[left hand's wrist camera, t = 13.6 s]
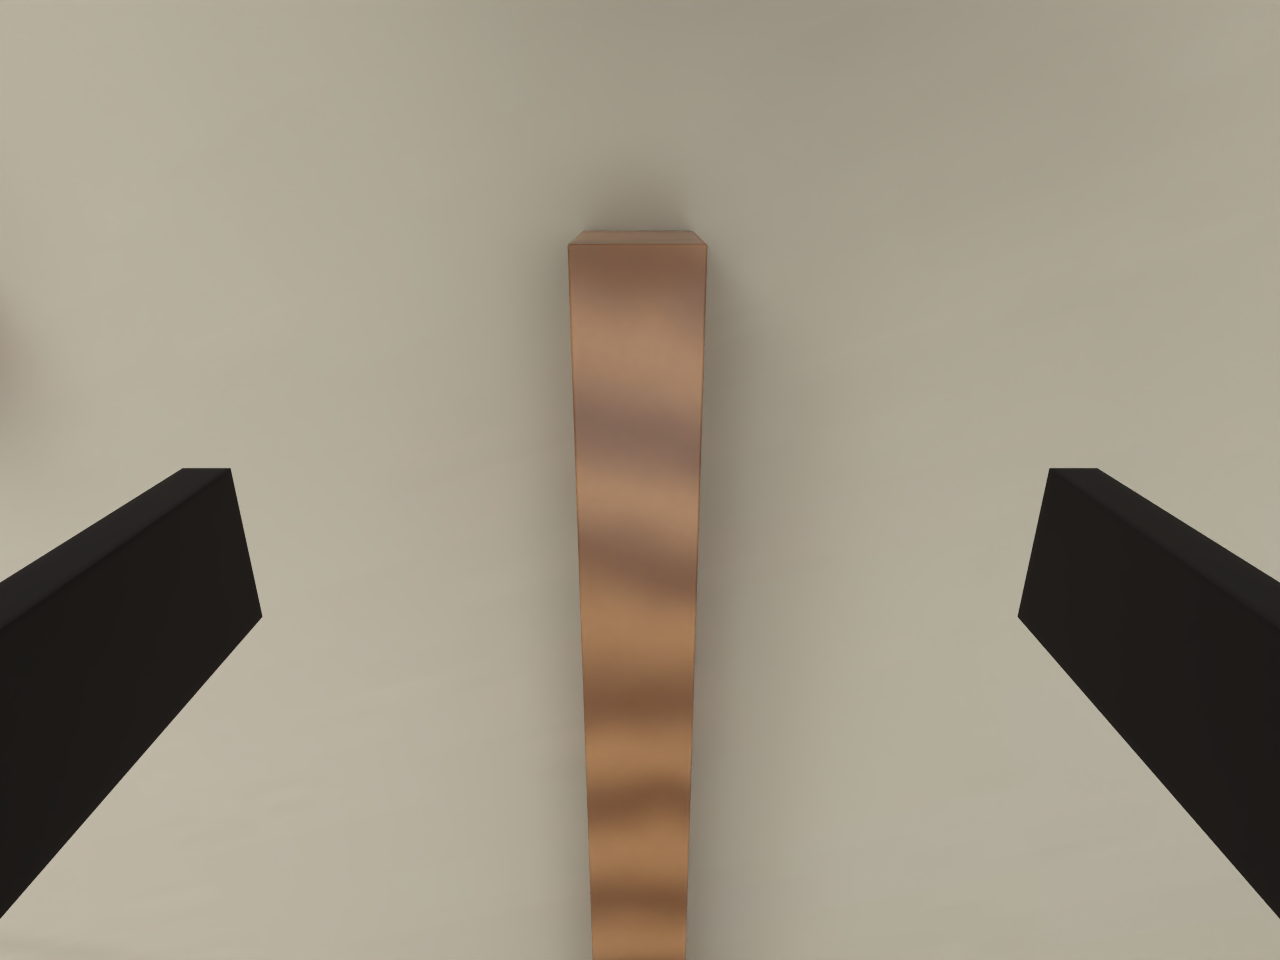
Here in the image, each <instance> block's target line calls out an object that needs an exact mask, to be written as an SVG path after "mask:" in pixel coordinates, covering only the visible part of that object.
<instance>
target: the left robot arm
mask: <svg viewBox="0 0 1280 960" xmlns="http://www.w3.org/2000/svg"><path fill="white" fill-rule="evenodd" d="M261 618H262V613H261V608H260V603H259V599H258V594H257V589H256V585H255V580H254V575H253V571H252V566H251V561H250V557H249V552H248V548H247V543H246V538H245V534H244V529H243V524H242V520H241V515H240V510H239V506H238V501H237V496H236V492H235V487H234V482H233V478H232V473H231V468H182V469H181V470H179V471H178V472H176V473H174V474H173V475H171V476H170V477H168V478H166V479H165V480H163V481H162V482H160V483H158V484H157V485H155V486H154V487H152V488H150V489H149V490H147V491H146V492H144V493H142V494H141V495H139V496H138V497H136V498H135V499H133V500H131V501H130V502H128V503H127V504H125V505H123V506H122V507H120V508H119V509H117V510H115V511H114V512H112V513H111V514H109V515H107V516H106V517H104V518H103V519H101V520H99V521H98V522H96V523H95V524H93V525H91V526H90V527H88V528H87V529H85V530H83V531H82V532H80V533H79V534H77V535H75V536H74V537H72V538H71V539H69V540H67V541H66V542H64V543H63V544H61V545H60V546H58V547H56V548H55V549H53V550H52V551H50V552H48V553H47V554H45V555H44V556H42V557H40V558H39V559H37V560H36V561H34V562H32V563H31V564H29V565H28V566H26V567H24V568H23V569H21V570H20V571H18V572H16V573H15V574H13V575H12V576H10V577H8V578H7V579H5V580H4V581H2V582H0V918H1V917H2V916H3V915H4V914H5V913H6V911H7V910H8V909H9V908H10V907H11V906H12V904H13V903H14V902H15V901H16V900H17V899H18V898H19V896H20V895H21V894H22V893H23V892H24V891H25V890H26V888H27V887H28V886H29V885H30V884H31V883H32V881H33V880H34V879H35V878H36V877H37V876H38V875H39V873H40V872H41V871H42V870H43V869H44V868H45V866H46V865H47V864H48V863H49V862H50V861H51V860H52V858H53V857H54V856H55V855H56V854H57V853H58V852H59V850H60V849H61V848H62V847H63V846H64V845H65V843H66V842H67V841H68V840H69V839H70V838H71V837H72V835H73V834H74V833H75V832H76V831H77V830H78V828H79V827H80V826H81V825H82V824H83V823H84V822H85V820H86V819H87V818H88V817H89V816H90V815H91V813H92V812H93V811H94V810H95V809H96V808H97V807H98V805H99V804H100V803H101V802H102V801H103V800H104V799H105V797H106V796H107V795H108V794H109V793H110V792H111V790H112V789H113V788H114V787H115V786H116V785H117V784H118V782H119V781H120V780H121V779H122V778H123V777H124V775H125V774H126V773H127V772H128V771H129V770H130V769H131V767H132V766H133V765H134V764H135V763H136V762H137V761H138V759H139V758H140V757H141V756H142V755H143V754H144V752H145V751H146V750H147V749H148V748H149V747H150V746H151V744H152V743H153V742H154V741H155V740H156V739H157V737H158V736H159V735H160V734H161V733H162V732H163V731H164V729H165V728H166V727H167V726H168V725H169V724H170V723H171V721H172V720H173V719H174V718H175V717H176V716H177V714H178V713H179V712H180V711H181V710H182V709H183V708H184V706H185V705H186V704H187V703H188V702H189V701H190V699H191V698H192V697H193V696H194V695H195V694H196V693H197V691H198V690H199V689H200V688H201V687H202V686H203V684H204V683H205V682H206V681H207V680H208V679H209V678H210V676H211V675H212V674H213V673H214V672H215V671H216V670H217V668H218V667H219V666H220V665H221V664H222V663H223V661H224V660H225V659H226V658H227V657H228V656H229V655H230V653H231V652H232V651H233V650H234V649H235V648H236V646H237V645H238V644H239V643H240V642H241V641H242V640H243V638H244V637H245V636H246V635H247V634H248V633H249V632H250V630H251V629H252V628H253V627H254V626H255V625H256V623H257V622H258V621H259V620H260V619H261ZM1018 618H1019V619H1020V620H1021V621H1022V622H1023V623H1024V625H1025V626H1026V627H1027V628H1028V629H1029V630H1030V632H1031V633H1032V634H1033V635H1034V636H1035V637H1036V638H1037V640H1038V641H1039V642H1040V643H1041V644H1042V645H1043V646H1044V648H1045V649H1046V650H1047V651H1048V652H1049V653H1050V655H1051V656H1052V657H1053V658H1054V659H1055V660H1056V661H1057V663H1058V664H1059V665H1060V666H1061V667H1062V668H1063V670H1064V671H1065V672H1066V673H1067V674H1068V675H1069V676H1070V678H1071V679H1072V680H1073V681H1074V682H1075V683H1076V684H1077V686H1078V687H1079V688H1080V689H1081V690H1082V691H1083V693H1084V694H1085V695H1086V696H1087V697H1088V698H1089V699H1090V701H1091V702H1092V703H1093V704H1094V705H1095V706H1096V708H1097V709H1098V710H1099V711H1100V712H1101V713H1102V714H1103V716H1104V717H1105V718H1106V719H1107V720H1108V721H1109V723H1110V724H1111V725H1112V726H1113V727H1114V728H1115V729H1116V731H1117V732H1118V733H1119V734H1120V735H1121V736H1122V737H1123V739H1124V740H1125V741H1126V742H1127V743H1128V744H1129V746H1130V747H1131V748H1132V749H1133V750H1134V751H1135V752H1136V754H1137V755H1138V756H1139V757H1140V758H1141V759H1142V761H1143V762H1144V763H1145V764H1146V765H1147V766H1148V767H1149V769H1150V770H1151V771H1152V772H1153V773H1154V774H1155V775H1156V777H1157V778H1158V779H1159V780H1160V781H1161V782H1162V784H1163V785H1164V786H1165V787H1166V788H1167V789H1168V790H1169V792H1170V793H1171V794H1172V795H1173V796H1174V797H1175V799H1176V800H1177V801H1178V802H1179V803H1180V804H1181V805H1182V807H1183V808H1184V809H1185V810H1186V811H1187V812H1188V813H1189V815H1190V816H1191V817H1192V818H1193V819H1194V820H1195V822H1196V823H1197V824H1198V825H1199V826H1200V827H1201V828H1202V830H1203V831H1204V832H1205V833H1206V834H1207V835H1208V837H1209V838H1210V839H1211V840H1212V841H1213V842H1214V843H1215V845H1216V846H1217V847H1218V848H1219V849H1220V850H1221V852H1222V853H1223V854H1224V855H1225V856H1226V857H1227V858H1228V860H1229V861H1230V862H1231V863H1232V864H1233V865H1234V866H1235V868H1236V869H1237V870H1238V871H1239V872H1240V873H1241V875H1242V876H1243V877H1244V878H1245V879H1246V880H1247V881H1248V883H1249V884H1250V885H1251V886H1252V887H1253V888H1254V890H1255V891H1256V892H1257V893H1258V894H1259V895H1260V896H1261V898H1262V899H1263V900H1264V901H1265V902H1266V903H1267V904H1268V906H1269V907H1270V908H1271V909H1272V910H1273V911H1274V913H1275V914H1276V915H1277V916H1278V917H1279V918H1280V582H1278V581H1276V580H1275V579H1273V578H1272V577H1270V576H1268V575H1267V574H1265V573H1264V572H1262V571H1260V570H1259V569H1257V568H1256V567H1254V566H1252V565H1251V564H1249V563H1248V562H1246V561H1244V560H1243V559H1241V558H1240V557H1238V556H1236V555H1235V554H1233V553H1232V552H1230V551H1228V550H1227V549H1225V548H1224V547H1222V546H1220V545H1219V544H1217V543H1216V542H1214V541H1213V540H1211V539H1209V538H1208V537H1206V536H1205V535H1203V534H1201V533H1200V532H1198V531H1197V530H1195V529H1193V528H1192V527H1190V526H1189V525H1187V524H1185V523H1184V522H1182V521H1181V520H1179V519H1177V518H1176V517H1174V516H1173V515H1171V514H1169V513H1168V512H1166V511H1165V510H1163V509H1161V508H1160V507H1158V506H1157V505H1155V504H1153V503H1152V502H1150V501H1149V500H1147V499H1145V498H1144V497H1142V496H1141V495H1139V494H1138V493H1136V492H1134V491H1133V490H1131V489H1130V488H1128V487H1126V486H1125V485H1123V484H1122V483H1120V482H1118V481H1117V480H1115V479H1114V478H1112V477H1110V476H1109V475H1107V474H1106V473H1104V472H1102V471H1101V470H1099V469H1098V468H1049V473H1048V478H1047V482H1046V487H1045V492H1044V496H1043V501H1042V506H1041V510H1040V515H1039V520H1038V524H1037V529H1036V534H1035V538H1034V543H1033V548H1032V552H1031V557H1030V561H1029V566H1028V571H1027V575H1026V580H1025V585H1024V589H1023V594H1022V599H1021V603H1020V608H1019V613H1018Z"/></svg>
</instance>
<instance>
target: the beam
mask: <svg viewBox="0 0 1280 960" xmlns="http://www.w3.org/2000/svg"><path fill="white" fill-rule="evenodd" d="M568 266H569V295H570V323H571V352H572V380H573V409H574V437H575V466H576V495H577V523H578V552H579V580H580V609H581V637H582V666H583V694H584V723H585V751H586V780H587V808H588V837H589V865H590V894H591V922H592V951H593V960H685V955H686V922H687V889H688V857H689V824H690V792H691V759H692V727H693V694H694V662H695V629H696V597H697V564H698V531H699V499H700V466H701V434H702V401H703V369H704V336H705V304H706V271H707V244H706V243H705V242H704V241H703V240H702V239H701V238H700V237H699V236H697V235H696V234H695V233H694V232H693V231H583V232H582V233H581V234H580V235H578V236H577V237H576V238H575V239H574V240H573V241H572V242H571V243H569V244H568Z"/></svg>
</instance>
